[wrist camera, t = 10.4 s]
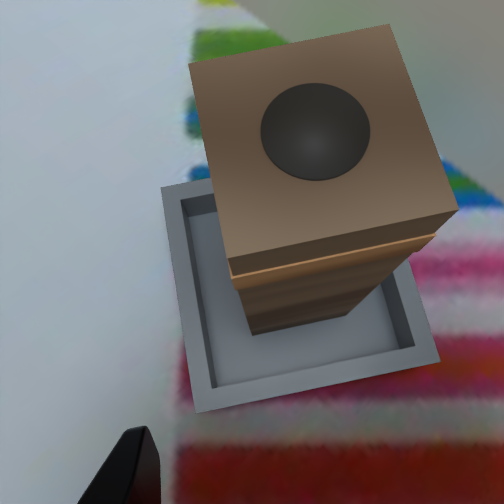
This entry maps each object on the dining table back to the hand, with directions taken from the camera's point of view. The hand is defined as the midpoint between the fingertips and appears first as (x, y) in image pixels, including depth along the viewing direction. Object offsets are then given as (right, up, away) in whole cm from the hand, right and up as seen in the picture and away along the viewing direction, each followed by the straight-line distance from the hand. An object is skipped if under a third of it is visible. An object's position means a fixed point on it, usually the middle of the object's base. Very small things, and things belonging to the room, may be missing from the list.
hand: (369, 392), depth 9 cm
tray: (-1, +1, +13) cm, 13 cm away
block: (-1, +2, +13) cm, 13 cm away
